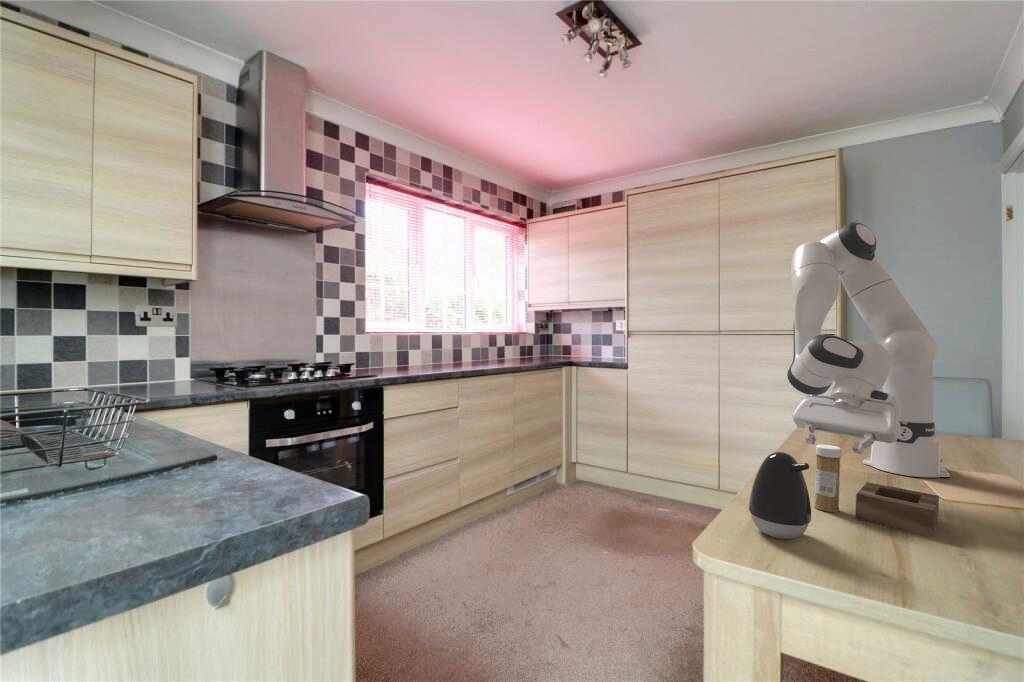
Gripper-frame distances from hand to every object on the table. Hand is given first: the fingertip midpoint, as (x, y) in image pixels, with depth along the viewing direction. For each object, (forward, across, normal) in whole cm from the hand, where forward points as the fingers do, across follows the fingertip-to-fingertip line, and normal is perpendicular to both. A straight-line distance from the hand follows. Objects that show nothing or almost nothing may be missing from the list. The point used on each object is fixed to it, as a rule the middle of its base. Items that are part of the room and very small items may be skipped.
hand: (832, 446), depth 109 cm
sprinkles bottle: (+12, +1, +6) cm, 14 cm away
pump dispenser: (+28, +2, -10) cm, 30 cm away
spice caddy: (+8, +12, +10) cm, 17 cm away
